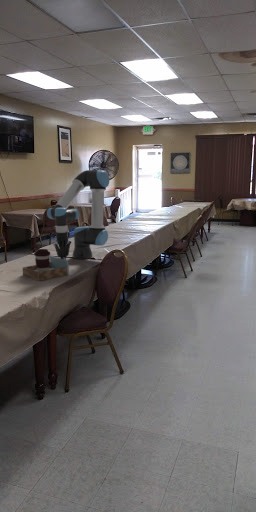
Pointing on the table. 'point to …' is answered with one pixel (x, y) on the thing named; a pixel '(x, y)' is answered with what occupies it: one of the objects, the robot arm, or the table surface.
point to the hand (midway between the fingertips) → (63, 266)
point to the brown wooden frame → (43, 273)
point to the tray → (58, 263)
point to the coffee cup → (42, 260)
